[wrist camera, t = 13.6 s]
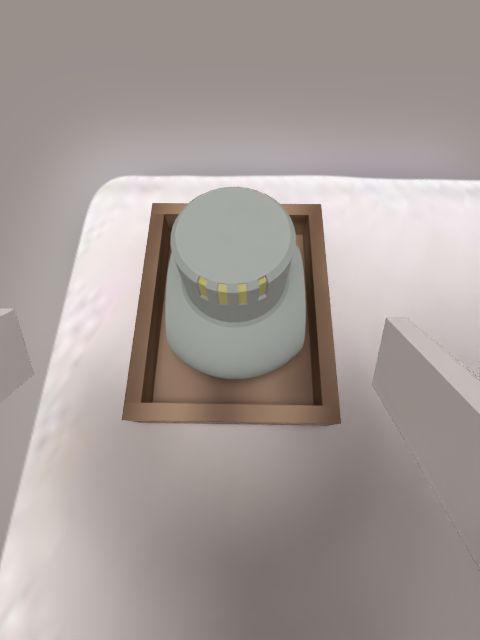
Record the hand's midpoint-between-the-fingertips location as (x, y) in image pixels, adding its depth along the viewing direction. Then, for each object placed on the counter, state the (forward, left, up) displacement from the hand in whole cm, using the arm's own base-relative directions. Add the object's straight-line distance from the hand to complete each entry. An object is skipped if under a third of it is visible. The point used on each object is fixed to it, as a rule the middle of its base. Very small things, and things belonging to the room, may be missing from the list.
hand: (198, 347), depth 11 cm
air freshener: (-1, -6, -11) cm, 13 cm away
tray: (-1, -6, -12) cm, 13 cm away
